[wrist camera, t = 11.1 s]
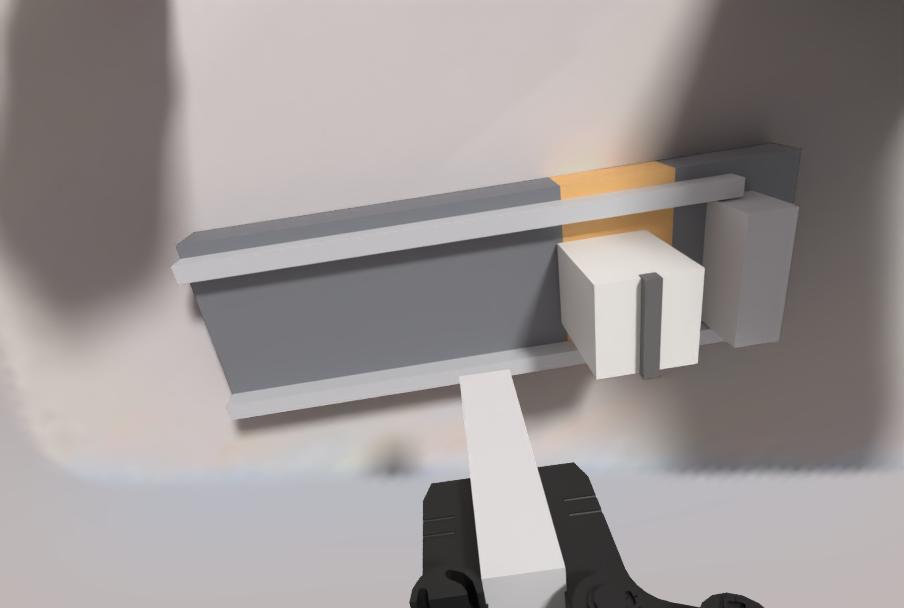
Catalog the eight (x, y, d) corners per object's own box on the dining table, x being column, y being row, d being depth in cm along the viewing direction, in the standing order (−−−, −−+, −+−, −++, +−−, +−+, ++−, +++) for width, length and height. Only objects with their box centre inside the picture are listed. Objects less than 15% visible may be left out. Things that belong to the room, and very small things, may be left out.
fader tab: (557, 242, 23) (598, 288, 18) (645, 228, 23) (711, 270, 18) (561, 323, 24) (599, 386, 19) (643, 310, 24) (702, 369, 19)
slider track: (193, 232, 23) (141, 270, 19) (771, 143, 24) (857, 158, 19) (252, 394, 27) (220, 459, 22) (750, 315, 27) (818, 363, 23)
